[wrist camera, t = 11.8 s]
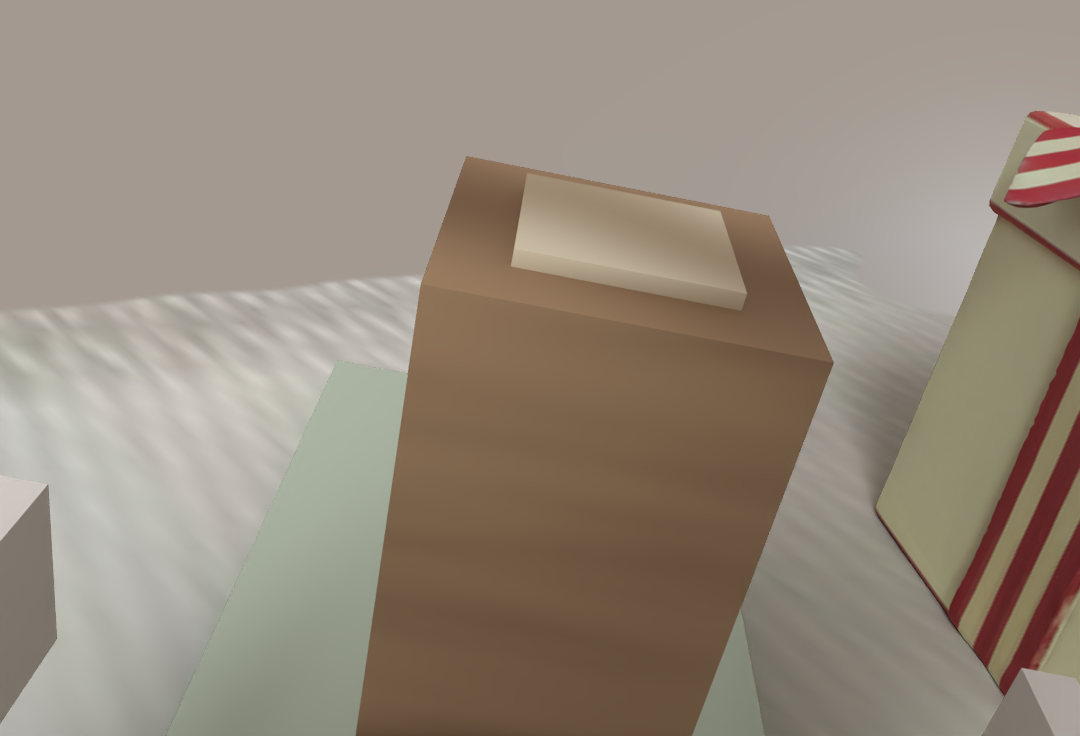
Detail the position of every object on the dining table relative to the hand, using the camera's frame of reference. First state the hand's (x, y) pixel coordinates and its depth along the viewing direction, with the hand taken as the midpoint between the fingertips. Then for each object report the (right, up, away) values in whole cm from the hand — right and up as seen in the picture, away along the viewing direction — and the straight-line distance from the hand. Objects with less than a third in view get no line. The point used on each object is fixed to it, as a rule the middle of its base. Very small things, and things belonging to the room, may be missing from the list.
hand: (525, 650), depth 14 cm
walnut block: (-1, -6, +7) cm, 10 cm away
